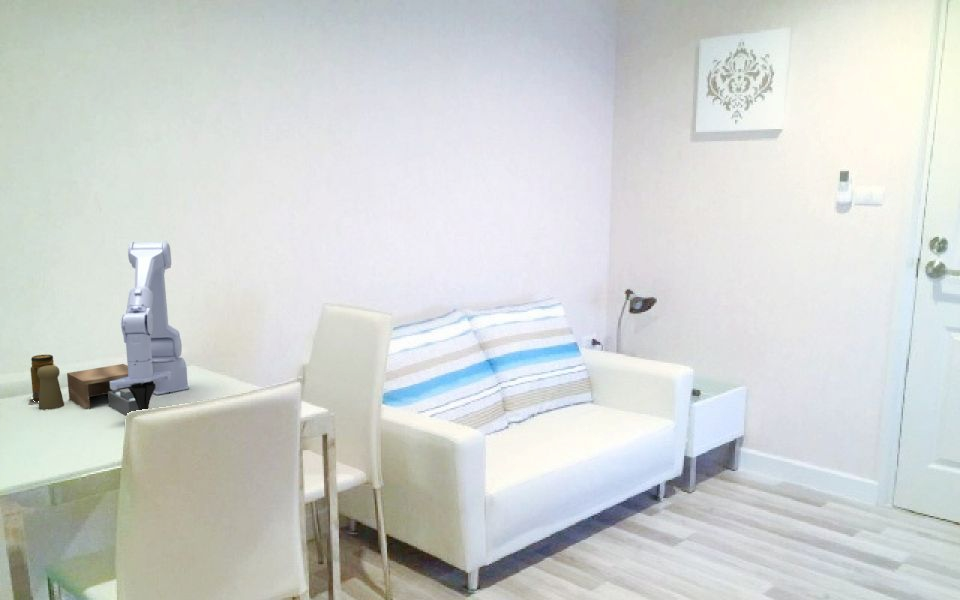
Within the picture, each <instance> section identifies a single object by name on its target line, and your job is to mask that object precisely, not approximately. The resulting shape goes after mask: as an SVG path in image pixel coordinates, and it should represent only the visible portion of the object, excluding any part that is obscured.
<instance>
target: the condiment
mask: <svg viewBox="0 0 960 600" xmlns="http://www.w3.org/2000/svg"><path fill="white" fill-rule="evenodd" d="M30 360H31V367H30V376H31V377H30V378H31V379H30V380H31V389H32V397H33V399H29V401H28V405H30V404H32V405H34V404H39V403H38V401H39V392H40V379H39V378H38V375H37V371H38V369H39V368H40V367H43V366H48V365H53V366H56V365H55V363H54V357H53V355H52V354H38V355H33V356H32V357H31V359H30ZM33 400H34V401H35V402H34V401H33Z"/></svg>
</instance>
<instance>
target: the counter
mask: <svg viewBox="0 0 960 600" xmlns="http://www.w3.org/2000/svg"><path fill="white" fill-rule="evenodd" d="M66 377H67V378H66V379H67V389H68V400H69V401H71V402H73V403H74V404H76V405H78V406H79V405H80V407H82V408H83V409H85V410H89V409H88V408H90V409H91V407H90V404H91V403H90V396H91V397H96V396H101V395H102V396H103V395H106V394H107V395H108V392H109V391H115V390H112V389H110V381H114V380H118V379H121V378H125V377H128V364H125V363H121V364H114V365H109V366H103V367H97V368H91V369H85V370H78V371H72V372H67V373H66ZM126 388H128V387H124V388H119V389H117V390H120V389H126Z"/></svg>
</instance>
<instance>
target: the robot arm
mask: <svg viewBox="0 0 960 600" xmlns="http://www.w3.org/2000/svg"><path fill="white" fill-rule="evenodd" d="M127 247H128V248H127V257H128V261H129V263H130V264H131V267H132V268H133V269H135V270H134V287H133V288H132V289H130V290H129V292H128V298H127V299H128V300H127V304H126V305H127V306H126V312H125V314H123V315H122V316H121V319H120V320H121V323H120V326H121V332H122V336H123V342H124V343H125V346H126V347H125V349H126V359H127V361H126V365H127V366H128V377H125V378H121V379H118V380H114V381H110V389H112V390H117V389H119V388H124V387H128V389H129V390H130V392H131V393H132V395H133V396H134V398H135V400H136V403H137V405H138V409H139V410H142V409H148V407H149V408H150V401H151V398H152V396H153V395H155V396H158V395H164V394H168V393H169V392H170V393H174V392H178V391H183V390H184V391H185V390H189V389H190V387H189V385H188V381H189V380H188V371H187V370H188V368H187V364H186V361H185V359H184V358H183V357H181V355H182V351H183V350H182V347H183V346H182V345H183V344H182V340H181V336H180V331H179V330H178V329H177V328H176V327H175V328H174V327H173V326H171V325H169V317H168V307H167V306H168V305H167V304H168V303H167V293H166V292H167V291H166V281H165V279H166V278H165V272H166V270H168V269H171V268H172V255H171V246H170V243H169V242H167V240H166V241H152V242H151V241H150V242H147V241H146V242H145V241H144V242H134V241H131V242H130V244H129V245H128V246H127Z"/></svg>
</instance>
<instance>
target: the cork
mask: <svg viewBox="0 0 960 600" xmlns="http://www.w3.org/2000/svg"><path fill="white" fill-rule="evenodd" d="M37 375H38V378H39V379H40V392H39V403H38V409H39V410H42V409H48V410H55V409H56V410H57V409H59V408H62V407H64V406H65V403H64V397H63V394H62V390H61V386H60V383H59V382H60V381H59V376H60V368H59V367H58V366H56V365H55V366H53V365H48V366H43V367H40V368H39V369H38V371H37Z"/></svg>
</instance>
